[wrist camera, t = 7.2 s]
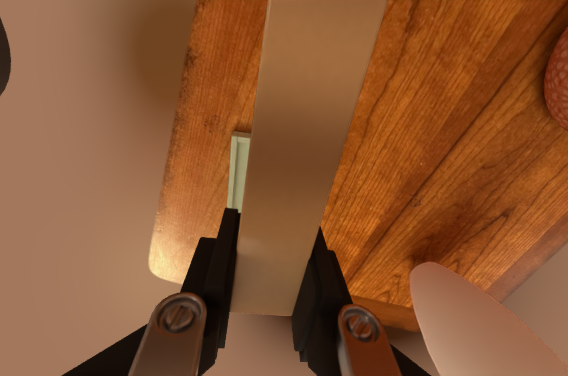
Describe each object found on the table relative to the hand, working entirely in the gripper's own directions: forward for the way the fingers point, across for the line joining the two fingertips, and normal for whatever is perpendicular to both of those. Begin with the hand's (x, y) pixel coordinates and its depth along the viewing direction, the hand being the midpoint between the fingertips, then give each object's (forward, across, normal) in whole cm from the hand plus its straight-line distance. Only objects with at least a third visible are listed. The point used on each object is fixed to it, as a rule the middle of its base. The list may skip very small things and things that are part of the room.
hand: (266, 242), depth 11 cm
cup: (+19, -25, +16) cm, 35 cm away
